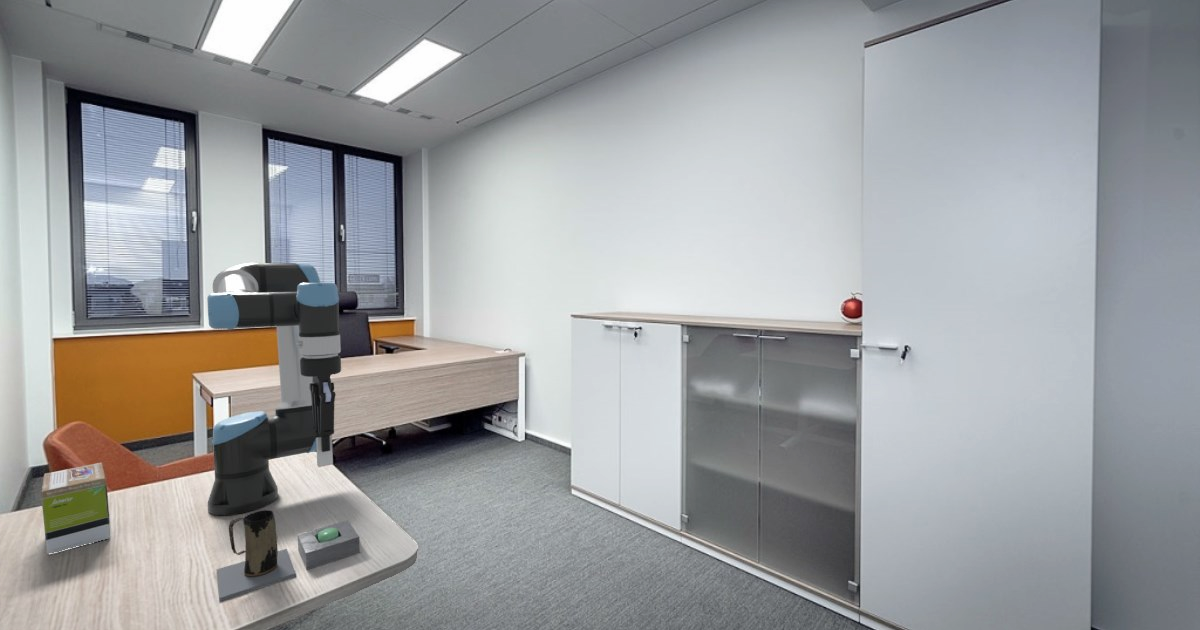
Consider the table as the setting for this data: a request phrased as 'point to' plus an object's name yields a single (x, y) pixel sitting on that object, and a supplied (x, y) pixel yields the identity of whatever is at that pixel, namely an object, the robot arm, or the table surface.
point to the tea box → (75, 507)
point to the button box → (328, 545)
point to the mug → (258, 543)
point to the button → (327, 534)
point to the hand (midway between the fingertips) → (325, 464)
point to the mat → (238, 583)
